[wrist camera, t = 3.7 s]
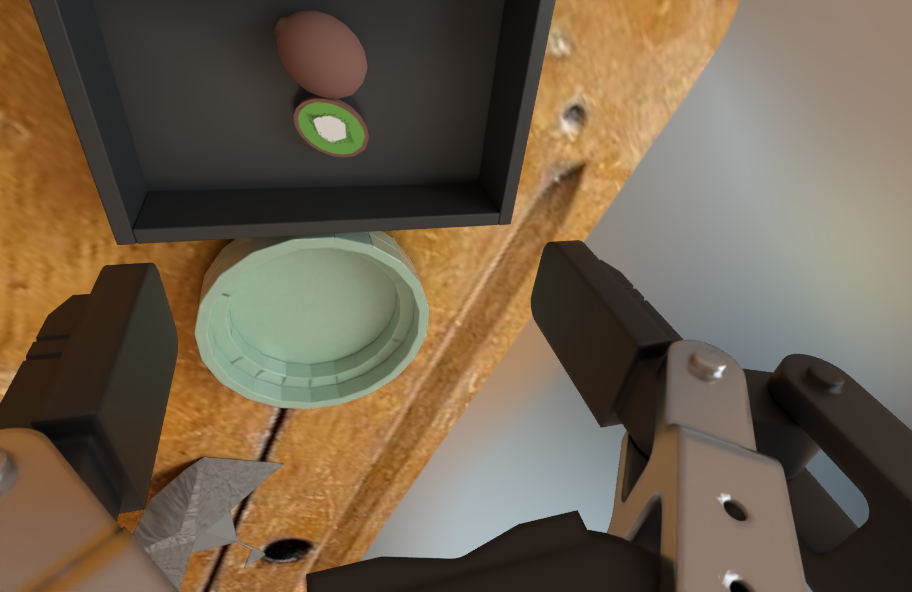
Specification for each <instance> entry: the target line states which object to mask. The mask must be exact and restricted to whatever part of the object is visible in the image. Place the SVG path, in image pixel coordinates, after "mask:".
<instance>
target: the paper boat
mask: <svg viewBox="0 0 912 592" xmlns="http://www.w3.org/2000/svg"><path fill="white" fill-rule="evenodd" d="M282 465H283V463H270V462H258V461H246V460H234V459H221V458H209V457H203V458H202V459H200V460H199V461H197V462H196V463H194V464H193V465H191V466H190V467H188V468H187V469H185V470H184V471H183V472H182V473H181V474H179V475H178V476H177V477H176V478H175V479H174V480H172V481H171V482H170V483H169V484H168V485H167V486H165V487H164V488H163V489H162V490H161V491H160V492H158V493H157V494H156V495H155V496H154V497H153V498H151V499H150V501H149V503H148V505H147V507H146V509H145V511H144V513H143V515H142V517H141V519H140V520H139V522H138V524H137V526H136V528H135V530H134V532H133V534H132V535H133V536H134V537H135V538H136V539H137V541H138V542H139V543H140V544H141V545H142V547H143V548H144V549H145V550H146V552H147V553H148V554H149V555H150V556H151V558H152V559H153V560H154V561H155V563H156V564H157V565H158V566H159V567H160V569H161V570H162V571H163V572H164V574H165V575H166V576H167V577H168V578H169V580H170V581H171V582H172V583H173V585H174V586H175V587H176V588H177V589H178V591H180V587H181V584H182V581H183V578H184V574H185V571H186V568H187V565H188V561H189V558H190V555H191V553H194V552H198V551H202V550H206V549H210V548H214V547H218V546H222V545H226V544H230V543H234V542H237V543H239V544H241V545H244V546H246V547H248V548H250V549H252V551H251V553H250V555H249V557H248V560H247V562H246V564H245V566H244V568H245V567H246V566H248V565H249V564H251V563H253V562H254V561H256V560H257V559H259V558H260V557H262V556H264V555H265V554H264V553H262V552H260V551H258V550H256V549H254V548H252V547H250V546H248V545H246V544H244V543H242V542H240V541H238V540H237V537H236V533H235V529H234V525H233V521H232V517H231V513H230V510H231V509H232V508H233V507H235V506H236V505H237V504H238V503H239V502H240V501H241V500H243V499H244V498H245V497H246V496H247V495H248V494H249V493H251V492H252V491H253V490H254V489H255V488H256V487H257V486H259V485H260V484H261V483H262V482H263V481H264V480H265V479H267V478H268V477H269V476H270V475H271V474H272V473H274V472H275V471H276V470H277V469H278V468H279V467H280V466H282Z"/></svg>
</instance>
